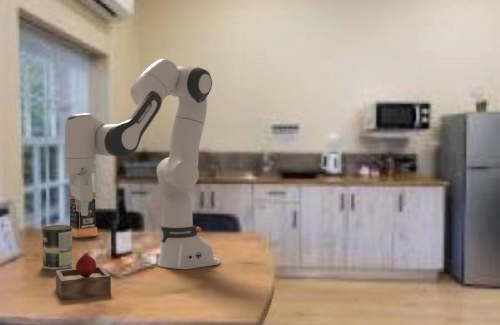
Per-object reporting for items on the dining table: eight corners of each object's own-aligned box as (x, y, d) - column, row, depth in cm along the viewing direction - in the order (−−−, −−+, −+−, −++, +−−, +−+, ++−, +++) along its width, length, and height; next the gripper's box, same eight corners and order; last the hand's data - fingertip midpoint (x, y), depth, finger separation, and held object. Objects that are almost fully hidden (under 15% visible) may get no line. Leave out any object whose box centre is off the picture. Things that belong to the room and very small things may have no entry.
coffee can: (43, 270, 204) (43, 230, 203) (41, 264, 213) (41, 226, 212) (74, 268, 208) (73, 228, 207) (71, 262, 217) (70, 224, 216)
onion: (85, 282, 172) (85, 256, 171) (72, 279, 175) (71, 253, 174) (100, 277, 177) (99, 251, 176) (86, 274, 180) (86, 248, 179)
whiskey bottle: (88, 233, 280) (87, 166, 279) (98, 235, 273) (97, 167, 272) (67, 235, 273) (66, 167, 272) (77, 238, 266) (76, 168, 265)
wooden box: (102, 283, 186) (101, 266, 186) (110, 294, 174) (110, 276, 173) (56, 288, 181) (55, 270, 180) (61, 299, 168) (61, 280, 168)
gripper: (97, 169, 167) (98, 217, 168) (86, 165, 186) (87, 208, 186) (74, 169, 164) (76, 218, 165) (65, 166, 183) (66, 210, 184)
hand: (81, 213), depth 176 cm, fingers open, 8 cm apart
